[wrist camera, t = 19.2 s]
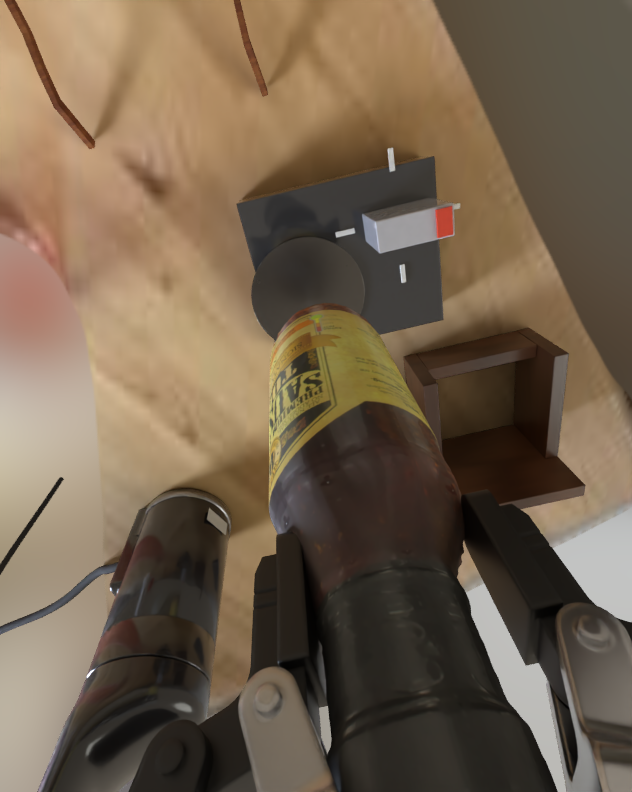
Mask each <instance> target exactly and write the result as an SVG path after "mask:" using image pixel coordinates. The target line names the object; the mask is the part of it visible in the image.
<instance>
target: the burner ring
mask: <svg viewBox="0 0 632 792" xmlns="http://www.w3.org/2000/svg"><path fill="white" fill-rule="evenodd" d="M251 296H252V305H253V309H254V312H255V315H256V317H257V319H258V321H259V323H260V325H261V326H262V327H263V329H264V330H265V331H266V332H267V333H268V334H269V335H270V336H271V337H272V338H274V339H275V340H277V337H278V333H279V332H280V331H281V329H282V328H283V327H284V325H285V324H286V322H288V320H289V319H290V318H291V317H292V316H293V315H294V314H295V313H297V312H298V311H300V310H302V309H305V308H307V307H310V306H312V305H315V304H322V303H334V304H339V305H342V306H346V307H347V308H350V309H352V310H353V311H355V312H357V313H358V314H361V311H362V308H363V304H364V297H365V288H364V281H363V277H362V274H361V271H360V269H359V267H358V265H357V263H356V262H355V261H354V259H353V258H352V257H351V256H350V254H349V253H348V252H347V251H345V250H344V249H343V248H342V247H340V246H339V245H337V244H335V243H333V242H331V241H329V240H326V239H322V238H317V237H301V238H295V239H292V240H289V241H286V242H284V243H282V244H280V245H279V246H277V247H276V248H274V249H273V250H272V251H271V252H270V253H268V255H267V256H266V257H265V258H264V259H263V261H262V262H261V264H260V265H259V267H258V269H257V271H256V273H255V276H254V279H253V284H252V295H251Z"/></svg>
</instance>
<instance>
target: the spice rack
mask: <svg viewBox="0 0 632 792" xmlns="http://www.w3.org/2000/svg"><path fill="white" fill-rule="evenodd" d="M568 356H569V353H567V352H566V351H564V350H563V349H561V348H559V347H558V346H556V345H555V344H553V343H552V342H550V341H549V340H547V339H546V338H544V337H542V336H541V335H539V334H538V333H536V332H535V331H533V330H532V329H530V328H527V329H523V330H518V331H514V332H510V333H505V334H501V335H497V336H492V337H488V338H484V339H479V340H475V341H470V342H466V343H462V344H457V345H453V346H449V347H444V348H440V349H435V350H431V351H427V352H422V353H418V354H413V355H409V356H404V366H405V375H406V384H407V387H408V389H409V390H410V392H411V394H412V396H413V397H414V399H415V401H416V403H417V404H418V406H419V408H420V410H421V411H422V413H423V415H424V417H425V419H426V420H427V422H428V424H429V426H430V428H431V430H432V431H433V433H434V435H435V437H436V439H437V442H438V444H439V448H440V452H441V454H442V456H443V458H444V460H445V462H446V463H447V465H448V466H449V468H450V469H451V473H452V474H453V475H454V477H455V480H456V482H457V484H458V488H459V490H460V493H461V495H462V494H467V493H472V492H476V491H481V490H485V489H487V490H489V491H490V492H491V493H492V495H493V496H494V498H495V499H496V501H497V502H498V504H499V505H500V506H502V505H507V504H511V503H512V504H513V505H515V506H516V507H517V508H519V509H523V508H528V507H533V506H537V505H542V504H546V503H551V502H556V501H560V500H565V499H569V498H574V497H579V496H583V495H584V491H585V484H584V483H583V482H582V481H581V480H580V479H579V478H578V477H577V476H576V475H575V474H574V473H573V472H572V471H571V470H570V469H569V468H568V467H567V466H566V465H565V464H564V463H563V462H562V461H561V460H560V459H559V458H558V457H557V456H558V447H559V438H560V429H561V420H562V411H563V402H564V393H565V383H566V374H567V365H568ZM512 362H516V370H515V396H514V421H513V425H509V426H504V427H500V428H495V429H491V430H486V431H482V432H477V433H473V434H468V435H464V436H459V437H455V438H450V439H446V440H441V426H440V411H439V397H438V383H437V382H436V381H435V380H437V379H441V378H446V377H450V376H454V375H459V374H463V373H468V372H472V371H476V370H481V369H485V368H490V367H494V366H498V365H503V364H507V363H512Z"/></svg>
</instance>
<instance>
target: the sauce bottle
mask: <svg viewBox="0 0 632 792" xmlns="http://www.w3.org/2000/svg"><path fill="white" fill-rule="evenodd" d="M269 421H270V423H269V513H270V518H271V521H272V523H273V525H274V527H275V529H276V531H277V534H282V533H287V532H294V533H295V534H296V536H297V537H298V539H299V540H300V542H301V546H302V552H303V558H304V564H305V569H306V575H307V580H308V586H309V591H310V596H311V600H312V604H313V608H314V612H315V616H316V621H315V625H316V634H317V637H318V639H319V641H320V643H321V645H322V655H323V663H324V672H325V679H326V699H327V704H328V709H329V720H330V726H331V737H332V742H331V748H330V750H329V752H328V756H327V762H328V764H329V767H330V770H331V772H332V775H333V777H334V780H335V783H336V785H337V788H338V790H339V792H557V789H556V786H555V783H554V781H553V778H552V776H551V773H550V771H549V768H548V766H547V763H546V761H545V759H544V758H543V756H542V754H541V752H540V749H539V747H538V744H537V742H536V740H535V738H534V735H533V733H532V731H531V729H530V727H529V726H528V724H527V723H526V722H525V721H524V720H523V719H522V718H521V717H520V715H519V714H518V713H517V711H516V710H515V709H514V708H513V707H512V706H511V705H510V704H509V702H508V701H507V699H506V697H505V695H504V692H503V689H502V687H501V685H500V682H499V679H498V677H497V675H496V673H495V671H494V669H493V667H492V664H491V662H490V659H489V656H488V654H487V651H486V648H485V646H484V643H483V641H482V639H481V637H480V635H479V632H478V630H477V628H476V626H475V623H474V621H473V619H472V616H471V607H470V603H469V599H468V597H467V595H466V592H465V590H464V589H463V587H462V586H461V585H460V583H459V581H458V579H457V575H458V568H459V566H460V565H461V563H462V560H461V555H462V554H463V553H464V550H463V549H464V548H463V541H464V538H465V529H464V527H465V522H464V516H463V510H462V506H461V493H460V490H459V488H458V484H457V482H456V480H455V477H454V475H453V474H452V473H451V469H450V468H449V466H448V465H447V463H446V462H445V460H444V458H443V456H442V454H441V452H440V448H439V444H438V442H437V439H436V437H435V435H434V433H433V431H432V430H431V428H430V426H429V424H428V422H427V420H426V419H425V417H424V415H423V413H422V411H421V410H420V408H419V406H418V404H417V403H416V401H415V399H414V397H413V396H412V394H411V392H410V390H409V389H408V387H407V385H406V383H405V381H404V379H403V378H402V376H401V374H400V372H399V370H398V368H397V367H396V365H395V363H394V361H393V359H392V358H391V356H390V354H389V352H388V350H387V349H386V347H385V345H384V343H383V341H382V339H381V337H380V336H379V334H378V333H377V332H376V331H375V329H374V328H373V327H372V326H371V324H370V323H369V322H368V321H367V320H366V319H365V318H364V317H362V316H361V315H360V314H358V313H357V312H355V311H353V310H352V309H350V308H347V307H346V306H342V305H339V304H334V303H322V304H315V305H312V306H310V307H307V308H305V309H302V310H300V311H298V312H297V313H295V314H294V315H293V316H292V317H291V318H290V319H289V320H288V322H286V324H285V325H284V327H283V328H282V329H281V331H280V332H279V333H278V337H277V340H276V342H275V344H274V346H273V350H272V354H271V359H270V410H269Z"/></svg>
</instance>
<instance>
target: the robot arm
mask: <svg viewBox="0 0 632 792" xmlns="http://www.w3.org/2000/svg"><path fill="white" fill-rule="evenodd" d="M63 480H64V479H63V478H62V477H60V478H59V479H58V480H57V482H56V483H55V485H54V486H53V488H52V489H51V491H50V492H49V494H48V495H47V497H46V498H45V500H44V501H43V503H42V504H41V505H40V507H39V508H38V510H37V511H36V512H35V514H34V515H33V517H32V518H31V520H30V521H29V523H28V524H27V525H26V527H25V528H24V530H23V531H22V533H21V534H20V535H19V537H18V538H17V540H16V541H15V543H14V544H13V545H12V547H11V548H10V550H9V551H8V553H7V555H6V556H5V557H4V559H3V560H2V562H1V563H0V575H1V573H2V572H3V570H4V568H5V567H6V565H7V564H8V562H9V561H10V559H11V557H12V556H13V554H14V553H15V551H16V550H17V548H18V547H19V545H20V544H21V542H22V541H23V539H24V538H25V536H26V535H27V533H28V532H29V530H30V529H31V528H32V526H33V525H34V523H35V522H36V520H37V519H38V517H39V516H40V514H41V513H42V511H43V510H44V508H45V507H46V506H47V504H48V503H49V501H50V500H51V498H52V496H53V495H54V494H55V492H56V491H57V489H58V488H59V486H60V484H61V483H62V481H63ZM461 506H462V510H463V516H464V522H465V527H464V529H465V538H464V541H465V544H466V547H467V549H468V551H469V553H470V555H471V557H472V559H473V561H474V563H475V565H476V567H477V569H478V571H479V573H480V575H481V577H482V579H483V581H484V583H485V585H486V587H487V589H488V591H489V593H490V595H491V597H492V599H493V601H494V603H495V605H496V607H497V609H498V611H499V613H500V615H501V617H502V619H503V621H504V623H505V625H506V627H507V629H508V631H509V633H510V635H511V637H512V639H513V641H514V643H515V645H516V647H517V649H518V651H519V653H520V655H521V657H522V659H523V661H524V663H525V665H530V664H535V663H539V664H540V666H541V668H542V670H543V672H544V673H545V675H546V677H547V684H546V685H547V692H548V696H549V702H550V707H551V712H552V717H553V722H554V727H555V732H556V738H557V742H558V748H559V752H560V758H561V763H562V768H563V773H564V778H565V784H566V792H632V623H631V622H627V621H624V620H620V619H618V618H616V617H614V616H613V615H612V614H610V613H609V612H608V611H606V610H604V609H602V608H600V607H598V606H596V605H595V604H594V603H593V602H592V601H591V600H590V599H589V598H588V597H587V595H586V594H585V593H584V591H583V590H582V588H581V587H580V586H579V584H578V583H577V582H576V580H575V579H574V577H573V576H572V575H571V573H570V572H569V570H568V569H567V568H566V566H565V565H564V564H563V562H562V561H561V559H560V558H559V557H558V555H557V554H556V553H555V551H554V550H553V548H552V547H550V546H549V543H548V541H547V540H546V539H545V537H544V536H543V535H542V534H541V533H540V530H539V529H538V528H537V526H536V525H535V524H534V522H533V521H532V519H531V518H530V517H529V515H527V514H526V513H525V512H523V511H522V510H520V509H519V508H517V507H516V506H515V505H513V504H512V503H511V504H507V505H502V506H500V505H499V504H498V502H497V501H496V499H495V498H494V496H493V495H492V493H491V492H490V491H489V490H487V489H485V490H481V491H476V492H472V493H467V494H462V495H461ZM230 531H231V515H230V512H229V510H228V508H227V507H226V506H225V504H224V503H223V502H222V501H220V500H219V499H218V498H216V497H215V496H213V495H211V494H209V493H206V492H203V491H199V490H194V489H178V490H172V491H169V492H166V493H163V494H161V495H160V496H158V497H156V498H155V499H154V500H153V501H152V502H151V503H150V504H149V506H148V507H147V508H144V509H140V510H139V511H138V514H137V516H136V519H135V521H134V524H133V526H132V529H131V532H130V534H129V537H128V539H127V542H126V544H125V547H124V550H123V552H122V555H121V557H120V560H119V562H117V563H114V564H110V565H104V566H101V567H99V568H97V569H96V570H94V571H93V572H91V573H90V574H89V575H88V576H86V577H85V578H84V579H83V580H82V581H81V582H80V583H79V584H77V586H75V587H74V588H73V589H72V590H71V591H70V592H69V593H67V594H66V595H65V596H64V597H62V598H61V599H59V600H58V601H56V602H55V603H53V604H51V605H49V606H47V607H46V608H43V609H41V610H39V611H37V612H35V613H32V614H30V615H27V616H25V617H22V618H20V619H17V620H15V621H13V622H10V623H7V624H5V625H3V626H1V627H0V635H1V634H2V633H5V632H7V631H9V630H12V629H14V628H16V627H19V626H21V625H24V624H27V623H29V622H32V621H34V620H37V619H39V618H41V617H43V616H46V615H48V614H49V613H52V612H53V611H55V610H57V609H59V608H60V607H62V606H63V605H65V604H66V603H68V602H69V601H70V600H72V599H73V598H74V597H75V596H77V595H78V594H79V593H80V592H81V591H82V590H83V589H84V588H85V587H86V586H88V585H89V584H90V583H91V582H92V581H93V580H95V579H96V578H97V577H99V576H100V575H102V574H109V573H112V572H115V573H114V575H113V578H112V580H111V583H110V590H111V591H112V593H113V594H114V596H115V600H114V602H113V605H112V608H111V611H110V613H109V616H108V619H107V622H106V625H105V627H104V630H103V633H102V636H101V639H100V642H99V644H98V647H97V650H96V653H95V655H94V659H93V661H92V664H91V666H90V669H89V672H88V675H87V677H86V680H85V682H84V685H83V688H82V690H81V693H80V695H79V698H78V700H77V702H76V704H75V706H74V708H73V710H72V711H71V713H70V715H69V717H68V719H67V721H66V723H65V725H64V727H63V729H62V731H61V734H60V736H59V739H58V741H57V744H56V746H55V749H54V752H53V754H52V757H51V759H50V762H49V765H48V767H47V770H46V772H45V774H44V777H43V779H42V782H41V784H40V787H39V789H38V791H37V792H120V791H121V790H122V789H123V788H124V787H125V786H126V785H127V784H129V783H130V782H131V781H132V780H133V782H132V785H131V787H130V790H129V792H339V790H338V788H337V785H336V783H335V780H334V777H333V775H332V772H331V770H330V767H329V764H328V762H327V756H328V754H327V751H326V749H325V746H324V743H323V741H322V738H321V727H320V716H319V707H324V706H328V704H327V699H326V679H325V672H324V663H323V655H322V645H321V643H320V641H319V639H318V637H317V634H316V625H315V621H316V616H315V612H314V608H313V604H312V600H311V596H310V591H309V586H308V580H307V575H306V569H305V564H304V558H303V552H302V546H301V542H300V540H299V539H298V537H297V536H296V534H295V533H294V532H287V533H282V534H278V535H277V537H276V554H275V555H270V556H265V557H262V559H261V562H260V564H259V566H258V568H257V570H256V573H255V582H254V594H255V595H254V605H253V607H254V610H253V628H252V650H251V668H250V674H249V677H248V680H247V683H246V685H245V686H244V688H243V690H242V692H241V693H240V695H239V696H238V697H237V698H236V699H235V701H233V702H232V703H231V704H230V705H229V706H228V707H226V708H225V709H223V710H222V711H220V712H218V713H217V714H215V715H214V716H212V717H210V718H209V719H207V720H206V718H207V713H208V706H209V697H210V687H211V680H212V671H213V663H214V655H215V646H216V638H217V630H218V621H219V613H220V605H221V597H222V589H223V581H224V572H225V564H226V556H227V548H228V540H229V535H230Z"/></svg>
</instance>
